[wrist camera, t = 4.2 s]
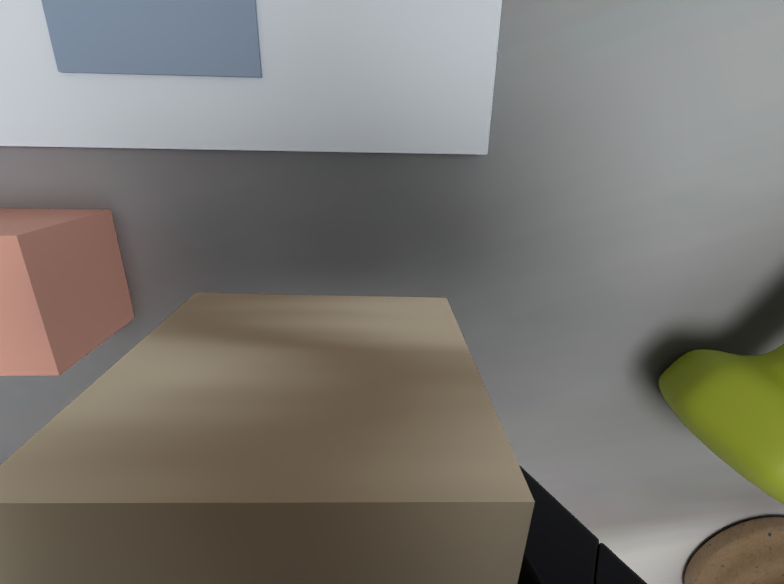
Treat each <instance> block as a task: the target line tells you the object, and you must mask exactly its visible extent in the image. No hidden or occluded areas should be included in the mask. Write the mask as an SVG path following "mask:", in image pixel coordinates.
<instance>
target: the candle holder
mask: <svg viewBox="0 0 784 584" xmlns="http://www.w3.org/2000/svg"><path fill="white" fill-rule="evenodd" d="M684 584H784V517H764V518H758V519H753V520H749V521H746V522H743V523H740V524H737V525H735V526H732V527H730V528H728V529H726V530H724V531H722V532H720V533H719V534H717V535H716V536H714V537H713V538H711V539H710V540H709V541H708V542H706V543H705V544H704V545H703V546H702V547H701V548H700V549H699V550H698V551H697V552H696V553H695V555H694V556H693V557H692V559H691V560H690V562H689V564H688V566H687V568H686V572H685V576H684Z"/></svg>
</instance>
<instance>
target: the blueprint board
mask: <svg viewBox="0 0 784 584" xmlns="http://www.w3.org/2000/svg"><path fill="white" fill-rule="evenodd" d="M501 6H502V0H0V146H38V147H93V148H148V149H204V150H259V151H314V152H370V153H425V154H480V155H487V154H488V143H489V133H490V122H491V112H492V101H493V91H494V80H495V70H496V59H497V49H498V38H499V27H500V17H501Z"/></svg>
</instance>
